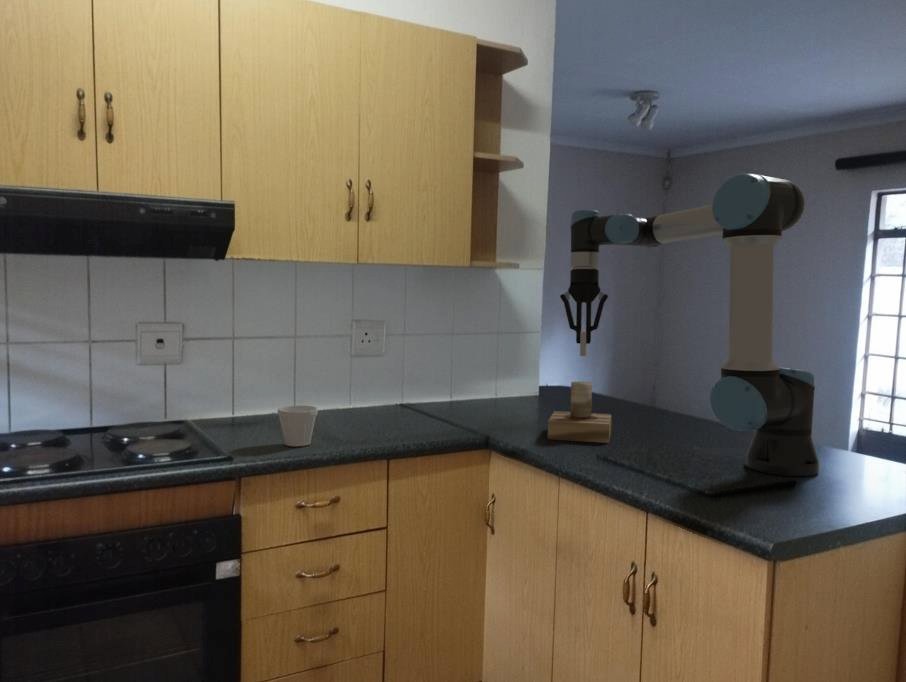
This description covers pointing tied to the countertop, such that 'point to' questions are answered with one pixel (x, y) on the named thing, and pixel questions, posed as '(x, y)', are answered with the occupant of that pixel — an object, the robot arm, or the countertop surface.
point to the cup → (297, 424)
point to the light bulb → (581, 400)
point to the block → (579, 427)
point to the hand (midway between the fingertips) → (583, 355)
